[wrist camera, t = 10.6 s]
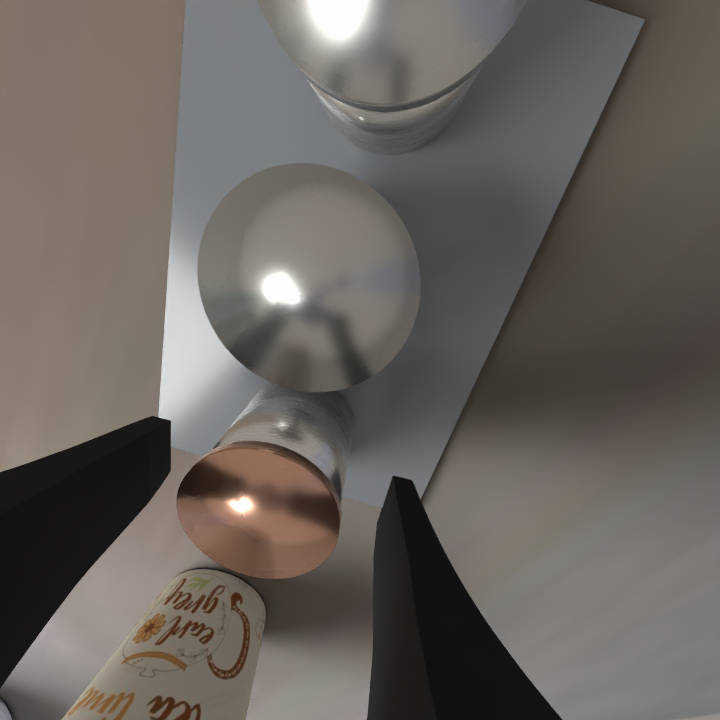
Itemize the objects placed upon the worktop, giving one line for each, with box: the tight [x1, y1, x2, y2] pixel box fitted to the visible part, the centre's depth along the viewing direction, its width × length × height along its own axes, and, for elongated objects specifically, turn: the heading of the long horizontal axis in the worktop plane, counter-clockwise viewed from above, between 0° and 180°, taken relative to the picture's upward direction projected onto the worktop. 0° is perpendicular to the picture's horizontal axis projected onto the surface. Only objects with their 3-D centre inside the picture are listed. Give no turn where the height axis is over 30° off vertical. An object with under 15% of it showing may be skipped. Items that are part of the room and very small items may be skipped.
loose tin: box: [177, 382, 355, 579], centre depth 12 cm, size 5×5×5 cm
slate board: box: [159, 0, 645, 508], centre depth 12 cm, size 12×18×1 cm, turn 164°
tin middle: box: [197, 163, 421, 392], centre depth 9 cm, size 5×5×5 cm
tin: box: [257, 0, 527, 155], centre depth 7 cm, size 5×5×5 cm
